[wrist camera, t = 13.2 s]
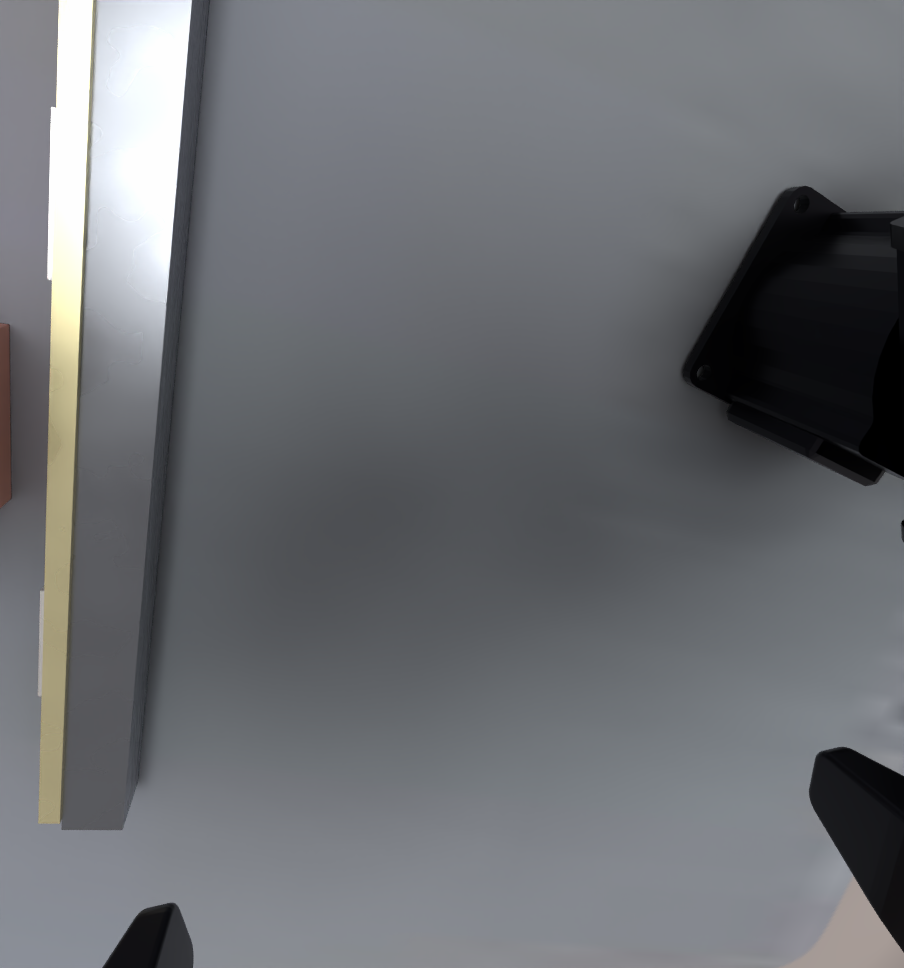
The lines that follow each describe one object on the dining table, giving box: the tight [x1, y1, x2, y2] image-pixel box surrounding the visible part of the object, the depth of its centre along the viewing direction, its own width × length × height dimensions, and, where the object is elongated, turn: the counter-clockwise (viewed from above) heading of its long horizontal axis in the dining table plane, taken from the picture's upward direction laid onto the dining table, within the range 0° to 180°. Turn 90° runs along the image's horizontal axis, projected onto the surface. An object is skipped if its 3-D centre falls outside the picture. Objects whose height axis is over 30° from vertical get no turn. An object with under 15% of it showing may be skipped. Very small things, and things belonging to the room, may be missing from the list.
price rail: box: [38, 0, 210, 830], centre depth 17 cm, size 3×26×2 cm, turn 167°
